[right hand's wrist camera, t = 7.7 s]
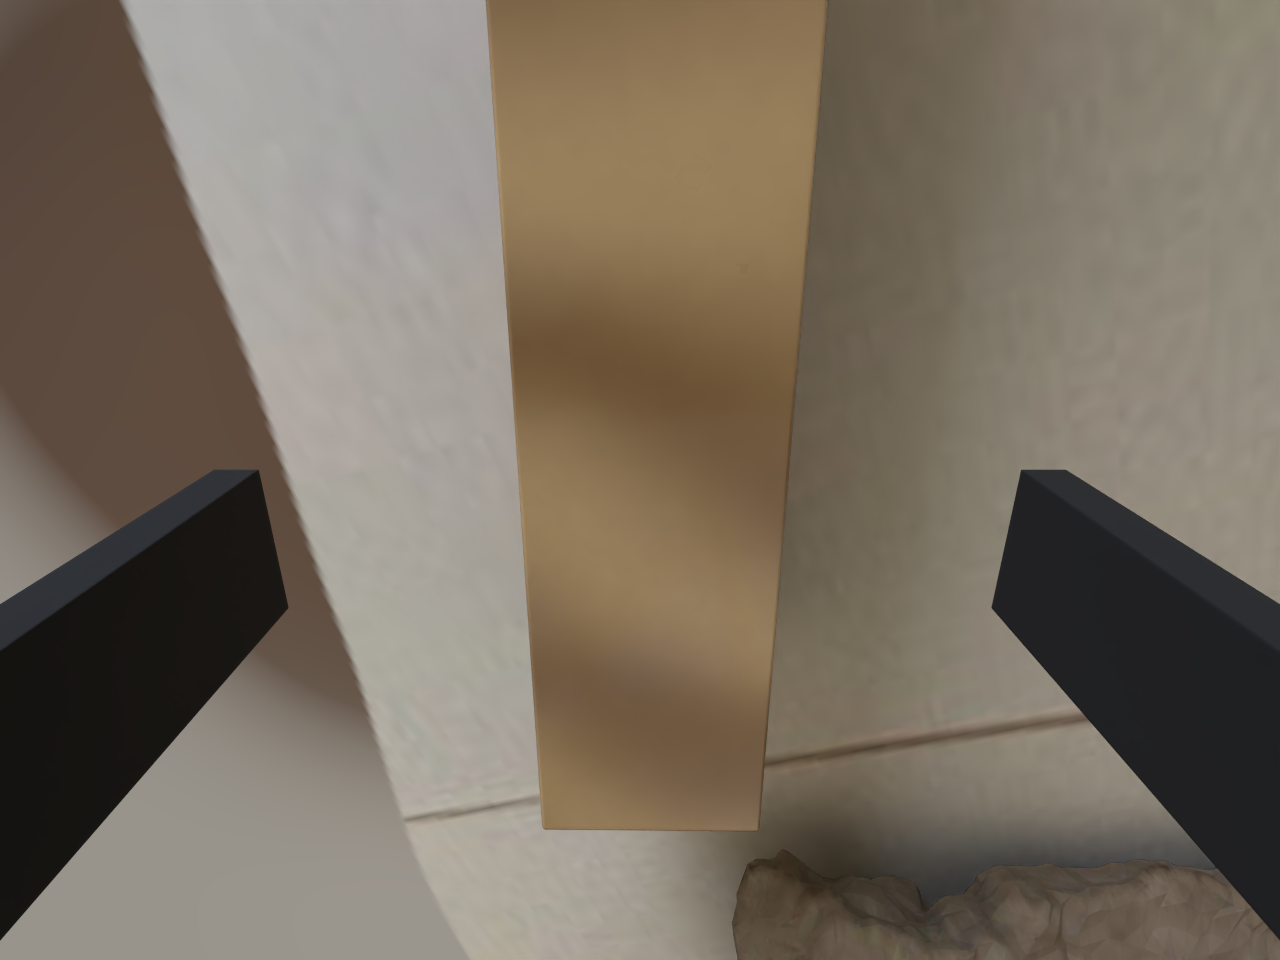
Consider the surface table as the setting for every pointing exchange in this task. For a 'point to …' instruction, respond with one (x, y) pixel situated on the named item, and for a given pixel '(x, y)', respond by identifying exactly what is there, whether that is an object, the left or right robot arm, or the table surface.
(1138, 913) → the stone
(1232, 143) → the table surface
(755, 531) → the post
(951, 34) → the table surface
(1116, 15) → the table surface
